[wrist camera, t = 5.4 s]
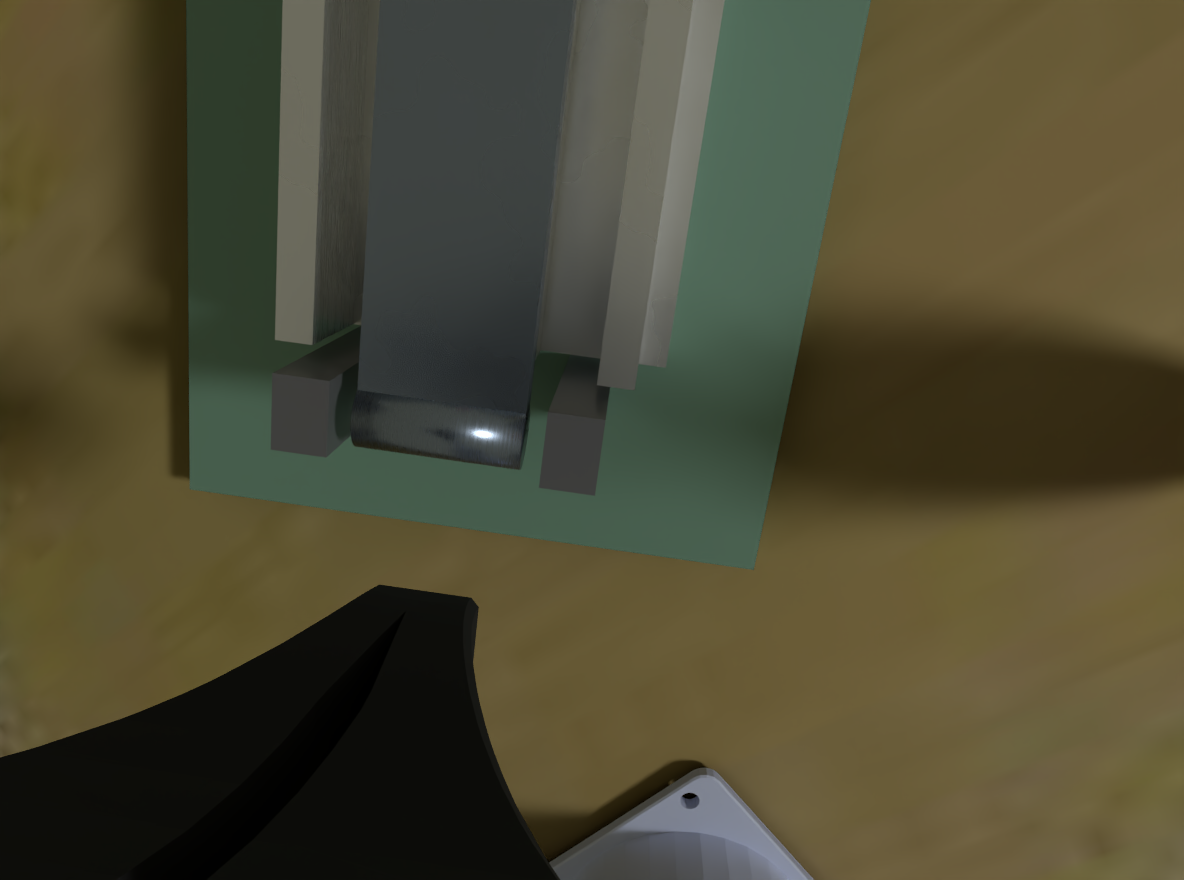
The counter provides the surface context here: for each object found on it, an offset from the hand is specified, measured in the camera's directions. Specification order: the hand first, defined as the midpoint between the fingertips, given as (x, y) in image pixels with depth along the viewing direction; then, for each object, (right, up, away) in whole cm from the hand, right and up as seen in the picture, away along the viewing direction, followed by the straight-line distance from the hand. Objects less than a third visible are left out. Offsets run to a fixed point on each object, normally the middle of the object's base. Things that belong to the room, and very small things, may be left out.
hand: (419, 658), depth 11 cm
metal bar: (0, +9, +5) cm, 10 cm away
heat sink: (0, +9, +7) cm, 12 cm away
